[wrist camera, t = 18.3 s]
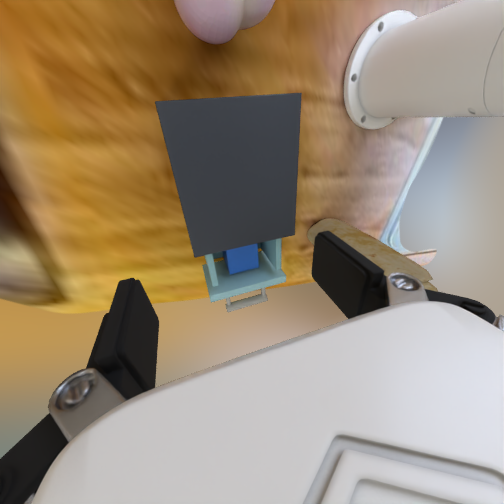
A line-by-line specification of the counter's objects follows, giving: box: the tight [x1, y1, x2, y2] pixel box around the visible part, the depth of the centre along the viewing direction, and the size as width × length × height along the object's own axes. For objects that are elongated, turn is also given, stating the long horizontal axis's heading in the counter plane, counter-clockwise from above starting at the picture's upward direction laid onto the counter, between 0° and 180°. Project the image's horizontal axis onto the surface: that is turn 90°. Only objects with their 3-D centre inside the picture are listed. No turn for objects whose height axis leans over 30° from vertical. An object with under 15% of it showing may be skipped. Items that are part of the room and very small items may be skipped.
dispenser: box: [155, 93, 301, 257], centre depth 26 cm, size 15×13×10 cm
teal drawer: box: [202, 238, 286, 312], centre depth 32 cm, size 19×11×8 cm, turn 4°
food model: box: [307, 218, 438, 292], centre depth 33 cm, size 10×7×20 cm
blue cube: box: [222, 243, 259, 274], centre depth 32 cm, size 4×4×4 cm
